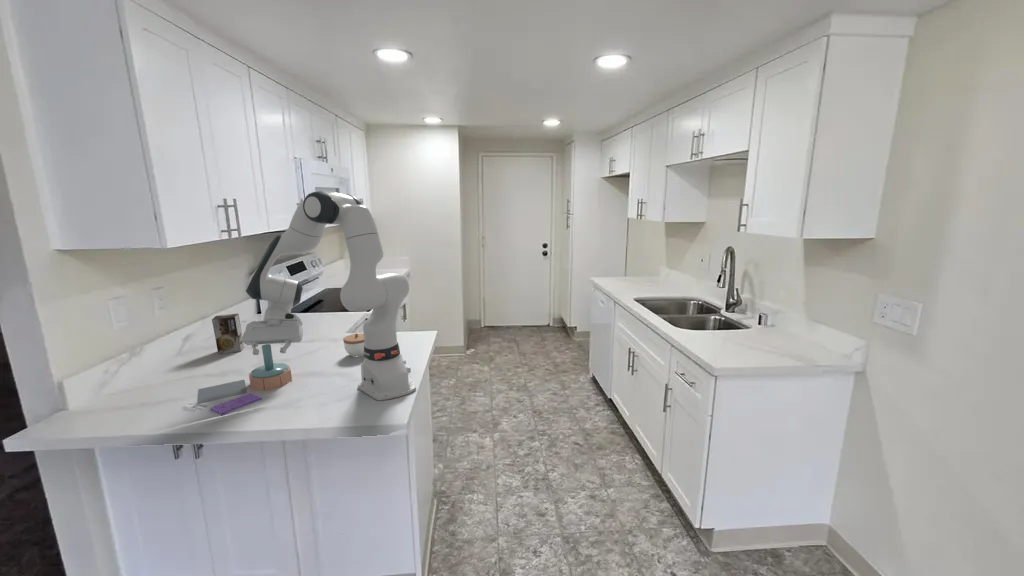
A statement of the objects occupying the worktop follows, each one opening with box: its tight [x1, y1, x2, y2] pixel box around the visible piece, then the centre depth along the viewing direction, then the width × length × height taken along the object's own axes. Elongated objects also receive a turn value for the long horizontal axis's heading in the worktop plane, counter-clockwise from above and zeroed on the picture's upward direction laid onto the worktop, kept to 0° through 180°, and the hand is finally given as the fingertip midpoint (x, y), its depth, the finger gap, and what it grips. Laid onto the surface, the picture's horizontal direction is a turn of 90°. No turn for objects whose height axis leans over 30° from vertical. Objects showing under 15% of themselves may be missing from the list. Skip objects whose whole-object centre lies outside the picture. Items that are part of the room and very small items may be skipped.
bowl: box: [248, 364, 293, 391], centre depth 158 cm, size 13×13×4 cm
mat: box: [196, 379, 248, 405], centre depth 152 cm, size 14×14×1 cm
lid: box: [250, 344, 289, 378], centre depth 157 cm, size 12×12×10 cm
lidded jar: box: [342, 333, 365, 358], centre depth 185 cm, size 11×11×9 cm
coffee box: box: [211, 313, 245, 355], centre depth 193 cm, size 9×6×16 cm
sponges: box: [209, 392, 262, 417], centre depth 142 cm, size 7×13×2 cm, turn 147°
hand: (269, 353), depth 158 cm, fingers open, 8 cm apart
